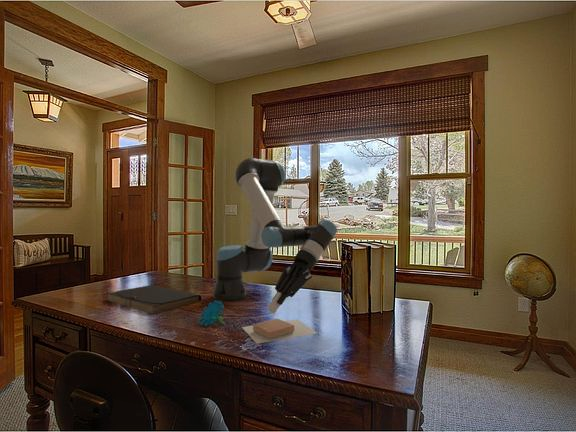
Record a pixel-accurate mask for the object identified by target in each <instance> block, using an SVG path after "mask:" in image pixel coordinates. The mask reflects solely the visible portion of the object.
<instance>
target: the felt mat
mask: <svg viewBox="0 0 576 432" xmlns="http://www.w3.org/2000/svg"><path fill="white" fill-rule="evenodd" d="M284 321H285V322H287V323H290V324H292V325H294V331H293V333H291V334H288V335H284V336H281V337H278V338H274V339H271V340H269V339H267V338H265V337H263V336H261V335H259V334H257V333H255V332H254V331H253V325H248V326H242V327H241V328H242V329H243V330H244V331H245V332H246V334H248V336H249V337H250V338H251V339H252V340H253V341H254V342H255V343H256V344H263V343H269V342H275V341H280V340H286V339H287V340H288V339H292V338H298V337H299V338H300V337H303V336H309V335H316V334H318V332H317V331H315V330H314V329H312V328H311V327H309V326H308V325H306V324H305V323H303V322H302V321H301V320H299V319H289V320H284Z"/></svg>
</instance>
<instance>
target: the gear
mask: <svg viewBox="0 0 576 432" xmlns="http://www.w3.org/2000/svg"><path fill="white" fill-rule="evenodd" d="M224 308H225V306H224V304H223V301H222V300H218V301H217V299H215V300H214V301H213V302H209V303H208V307H207V306H204V307H203V310H204V312H203V311H201V312H200V313H199V316H200V317H199V319H198V321H199V322H200V325H201V326H202V327H203V326H205V327H207V328H208V327H209V326H210V325H215V323H216V322H218V323H219V324H221V325H222V326H223V325H226V323H225V322H224V318H223V317H222V316H221V315H222V314H223V313H224V310H223V309H224ZM219 314H220V316H219Z"/></svg>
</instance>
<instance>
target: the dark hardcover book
mask: <svg viewBox="0 0 576 432" xmlns="http://www.w3.org/2000/svg"><path fill="white" fill-rule="evenodd" d="M106 294H107V301H108V302H111V303H114V304H118V305H121V306H125V307H129V308H130V309H135V310H140V311H143V312H147V313H149V314H152V315H155V314H159V313H162V312H167V311H170V310H173V309H176V308H179V307H183V306H187V305H191V304H193V303H194V304H195V303H197V302H200V301H202V296H201V294H196V293H192V292H191V293H190V292H187V291H182V290H177V289H174V288H169V287H163V286H159V285H154V284H149V285H144V286H139V287H134V288H133V287H132V288H127V289H120V290H116V291H113V292H107V293H106Z"/></svg>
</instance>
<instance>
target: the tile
mask: <svg viewBox="0 0 576 432" xmlns="http://www.w3.org/2000/svg"><path fill="white" fill-rule="evenodd" d="M285 321H286V320H282V319H280V318H274V319H269V320H265V321H262V322H258V323H254V324H252V326H253V331H254V332H255V333H257V334H259V335H261V336H263V337H265V338H267V339H269V340H271V339H274V338H278V337H281V336H284V335H288V334H291V333H293V331H294V325H292V324H290V323H287V322H285Z"/></svg>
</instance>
